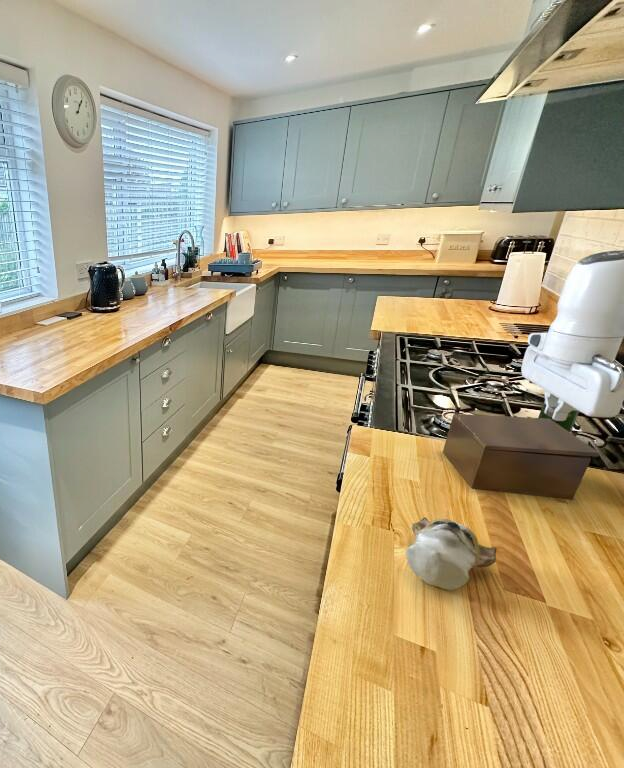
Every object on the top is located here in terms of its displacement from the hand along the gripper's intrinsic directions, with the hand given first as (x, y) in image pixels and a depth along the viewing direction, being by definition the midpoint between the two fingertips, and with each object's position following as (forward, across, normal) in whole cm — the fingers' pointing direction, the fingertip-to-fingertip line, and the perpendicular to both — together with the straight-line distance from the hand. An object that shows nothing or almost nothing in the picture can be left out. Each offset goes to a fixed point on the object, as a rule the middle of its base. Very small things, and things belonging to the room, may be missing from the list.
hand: (554, 417), depth 78 cm
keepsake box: (+13, 0, +5) cm, 14 cm away
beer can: (+14, +12, -8) cm, 20 cm away
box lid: (+4, 0, +5) cm, 6 cm away
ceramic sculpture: (+13, -30, +26) cm, 42 cm away
